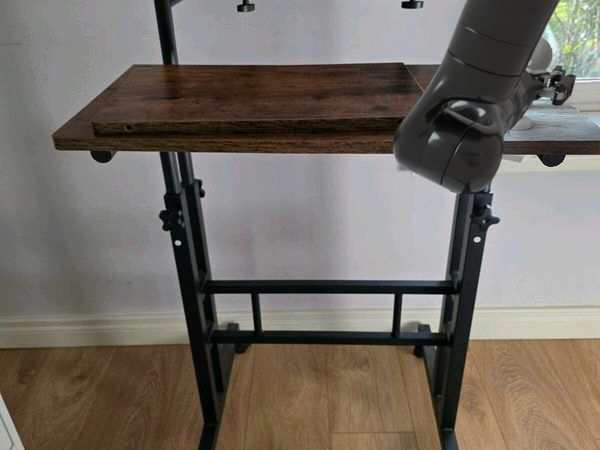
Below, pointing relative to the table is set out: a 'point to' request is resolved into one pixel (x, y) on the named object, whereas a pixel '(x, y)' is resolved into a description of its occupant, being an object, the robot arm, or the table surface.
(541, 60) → the lightbulb
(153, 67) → the table surface
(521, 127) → the chess piece
